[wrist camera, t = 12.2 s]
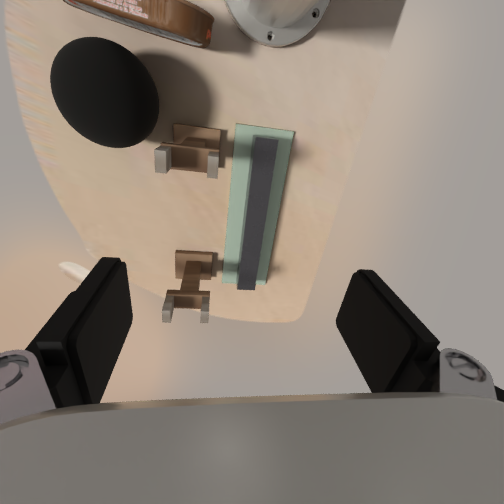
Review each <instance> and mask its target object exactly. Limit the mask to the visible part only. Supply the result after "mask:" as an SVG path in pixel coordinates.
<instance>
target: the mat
mask: <svg viewBox="0 0 504 504" xmlns="http://www.w3.org/2000/svg"><path fill="white" fill-rule="evenodd" d="M293 134H294V132H293V131H286V130H279V129H272V128H265V127H257V126H250V125H243V124H236V129H235V140H234V151H233V162H232V174H231V185H230V196H229V207H228V218H227V230H226V241H225V252H224V263H223V274H222V283H234V284H237V282H236V277H237V269H238V260H239V251H240V243H241V234H242V225H243V217H244V208H245V199H246V191H247V182H248V173H249V164H250V156H251V147H252V138H253V135H260V136H267V137H275V138H276V139H278V140H279V141H278V147H277V153H276V159H275V166H274V172H273V178H272V184H271V191H270V197H269V203H268V209H267V216H266V222H265V228H264V234H263V241H262V247H261V253H260V259H259V266H258V272H257V278H256V284H259V285H265V283H266V278H267V272H268V267H269V262H270V256H271V251H272V246H273V240H274V235H275V230H276V224H277V219H278V214H279V208H280V203H281V198H282V192H283V187H284V182H285V176H286V171H287V166H288V160H289V155H290V150H291V144H292V139H293Z"/></svg>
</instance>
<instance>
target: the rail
mask: <svg viewBox="0 0 504 504" xmlns="http://www.w3.org/2000/svg"><path fill="white" fill-rule="evenodd" d="M278 141H279V140H278V139H276V138H275V137H267V136H260V135H253V138H252V147H251V156H250V164H249V173H248V182H247V191H246V199H245V208H244V217H243V225H242V234H241V243H240V251H239V260H238V269H237V277H236V282H237V289H239V290H255V285H256V278H257V272H258V266H259V259H260V253H261V247H262V241H263V234H264V228H265V222H266V216H267V209H268V203H269V197H270V191H271V184H272V178H273V172H274V166H275V159H276V153H277V147H278Z"/></svg>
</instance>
